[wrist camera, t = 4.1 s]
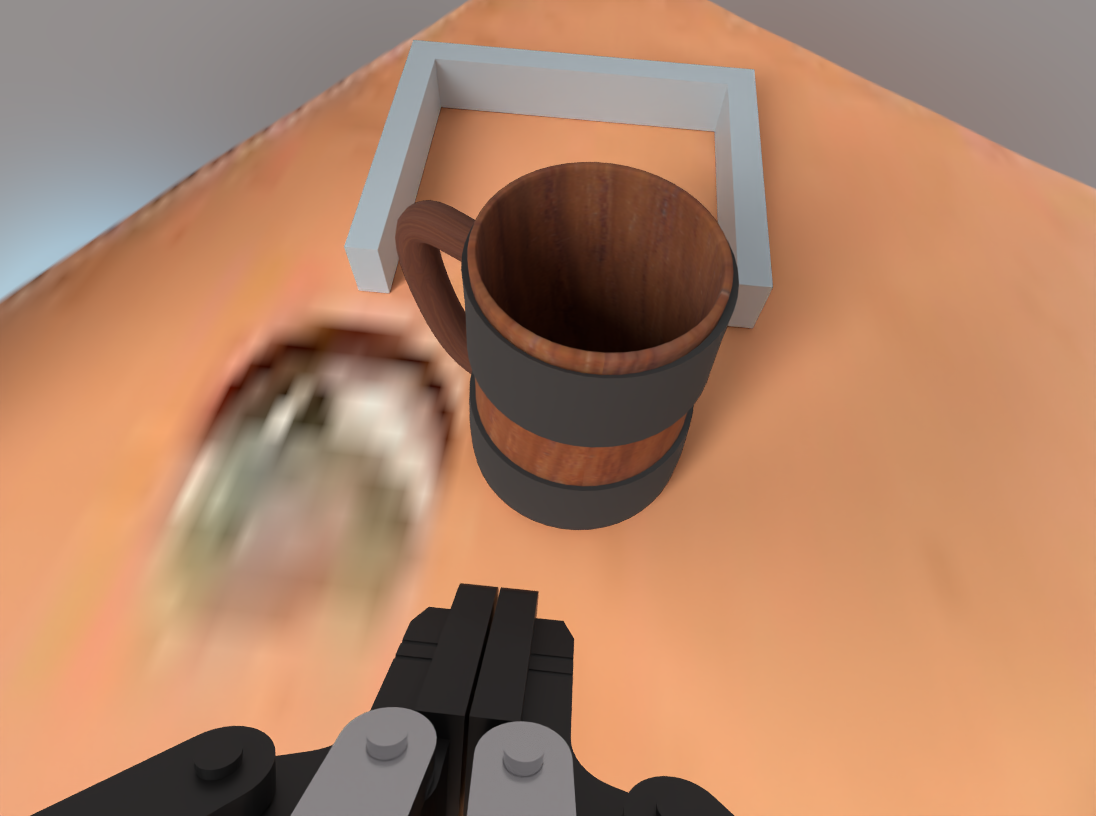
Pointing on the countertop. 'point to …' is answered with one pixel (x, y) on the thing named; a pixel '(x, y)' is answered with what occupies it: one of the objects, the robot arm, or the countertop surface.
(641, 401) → the mug
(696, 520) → the countertop surface
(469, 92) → the dock bay
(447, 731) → the robot arm
